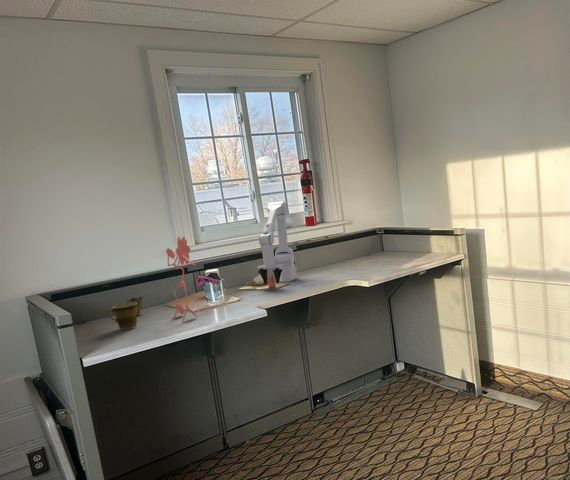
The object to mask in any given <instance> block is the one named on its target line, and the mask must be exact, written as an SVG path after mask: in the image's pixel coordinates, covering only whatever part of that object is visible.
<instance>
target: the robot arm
mask: <svg viewBox="0 0 570 480" xmlns="http://www.w3.org/2000/svg"><path fill="white" fill-rule="evenodd" d="M266 209H267V210H266V211H267V212H268V217H267V222H266V223H265V224H264V226H263V229H262V233H261V234H260V235H259V237H258V243H259V245H260V249H261V253H262V259H263V264H262V265H258V266H256V267H257V270H258V271H257V272H258V273H259V275H261V277H262V279H263V281H264V284H265V283H267V282H268V271H269V270H272V272H273V274H274V275H273V276H274V279H275V284H280V282H281V283H282V282H284V283H286V282H293V281H295V280H298V279H299V277H297V276H298V275H297V274H298V273H297V267H296V265H295V264H294V262H295V261H296V260H295V253H294V250H293V248H291V247H290V246H289V243H288V232H287V230H288V229H287V221H286V220H287V219H286V218H287V216H289V215H288V213H289V212H288V204H287V202H286V201H285V200H283V201H282V200H281V201H275V202H274V201H273V202H268V203H267V205H266ZM275 223H276V225H277V226H276V225H275ZM276 228H277V238H278V248H277V249H276V250H275V251H274V245H273V244H274V243H275V230H276ZM274 252H275V253H274Z"/></svg>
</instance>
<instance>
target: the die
mask: <svg viewBox="0 0 570 480" xmlns="http://www.w3.org/2000/svg"><path fill="white" fill-rule="evenodd" d="M253 281H255V283H256V284H261V283H264V281H263V279H262V277H261V275H260V274H259V275H257V276H255V277H254V278H253Z"/></svg>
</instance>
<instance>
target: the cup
mask: <svg viewBox="0 0 570 480" xmlns="http://www.w3.org/2000/svg"><path fill="white" fill-rule="evenodd" d="M129 302H136V303H137V317H138V316H140V315H142V311H143V309H144V297H143V296H139V297H131V298H129V299H126V303H129Z"/></svg>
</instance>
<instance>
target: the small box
mask: <svg viewBox="0 0 570 480" xmlns="http://www.w3.org/2000/svg"><path fill="white" fill-rule="evenodd" d="M210 273H217V274H218V276H219V277H220V271H219V268H213V269H212V268H211V269H207V270H206V271H204V277H205V276H208V275H209V274H210Z"/></svg>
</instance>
